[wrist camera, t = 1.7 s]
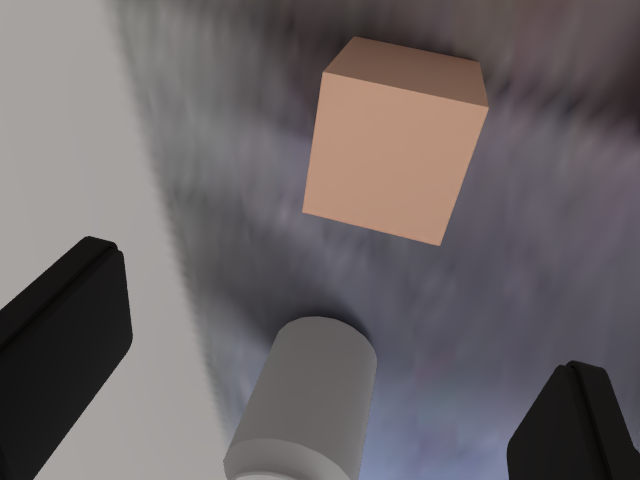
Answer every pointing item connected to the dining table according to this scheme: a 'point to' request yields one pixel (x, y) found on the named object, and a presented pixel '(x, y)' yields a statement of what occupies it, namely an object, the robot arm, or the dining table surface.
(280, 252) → the dining table surface
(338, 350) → the can
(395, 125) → the terracotta cube
